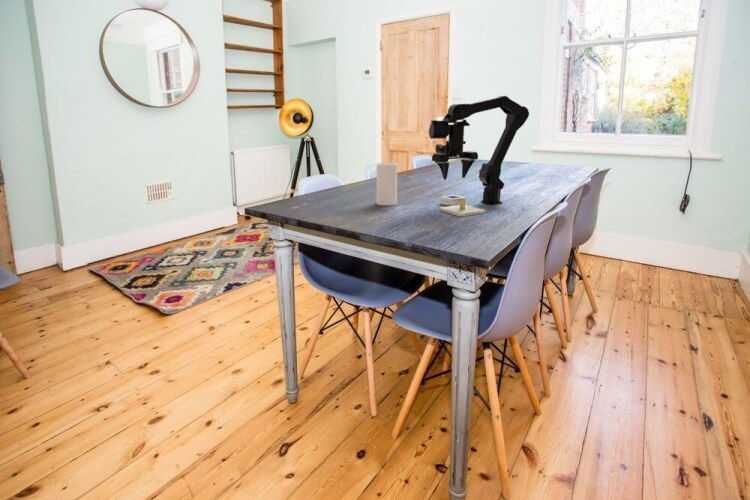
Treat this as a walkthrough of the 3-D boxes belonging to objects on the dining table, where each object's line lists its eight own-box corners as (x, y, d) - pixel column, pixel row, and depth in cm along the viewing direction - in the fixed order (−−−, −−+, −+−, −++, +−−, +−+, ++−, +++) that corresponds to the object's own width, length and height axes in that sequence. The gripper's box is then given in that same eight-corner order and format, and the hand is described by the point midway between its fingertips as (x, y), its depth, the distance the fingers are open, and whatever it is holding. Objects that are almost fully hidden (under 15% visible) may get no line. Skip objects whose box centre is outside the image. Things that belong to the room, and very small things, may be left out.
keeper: (464, 206, 179) (465, 194, 178) (485, 212, 169) (486, 199, 168) (439, 210, 174) (440, 197, 172) (459, 216, 164) (460, 202, 162)
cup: (395, 205, 182) (395, 165, 177) (374, 205, 183) (374, 164, 178) (398, 201, 189) (398, 162, 184) (378, 201, 191) (378, 162, 186)
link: (454, 202, 188) (454, 194, 188) (465, 205, 183) (465, 197, 182) (440, 203, 185) (440, 196, 184) (451, 206, 179) (451, 199, 178)
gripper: (461, 136, 187) (459, 174, 192) (424, 138, 178) (423, 178, 183) (480, 137, 178) (477, 177, 183) (441, 139, 169) (439, 181, 174)
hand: (454, 178), depth 181 cm, fingers open, 9 cm apart
